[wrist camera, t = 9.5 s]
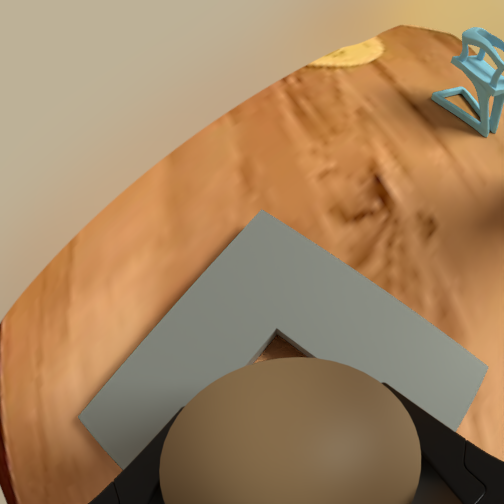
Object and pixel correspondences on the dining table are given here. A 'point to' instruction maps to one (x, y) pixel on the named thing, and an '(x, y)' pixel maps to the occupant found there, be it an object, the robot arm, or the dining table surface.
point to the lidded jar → (292, 439)
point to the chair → (478, 81)
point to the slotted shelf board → (286, 326)
